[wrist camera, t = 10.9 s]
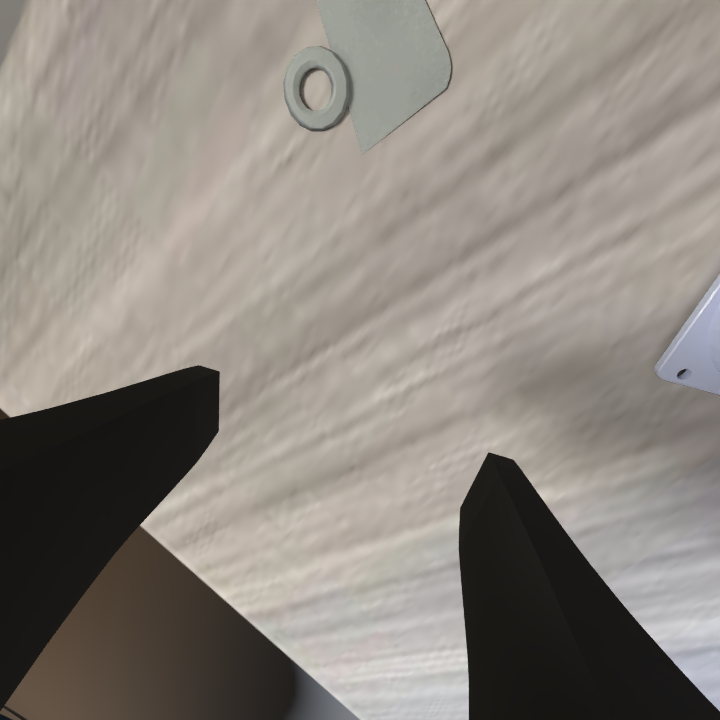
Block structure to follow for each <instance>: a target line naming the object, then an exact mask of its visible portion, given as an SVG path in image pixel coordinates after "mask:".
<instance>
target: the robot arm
mask: <svg viewBox="0 0 720 720" xmlns="http://www.w3.org/2000/svg"><path fill="white" fill-rule="evenodd" d="M683 369H686V371H685V372H684V373H683V374H682V375H679V376H678V375H677V374H678V372H679V371H681V370H683ZM654 370H655V373H656V375H657V376H658V377H660V378H661V379H663V380H665V381H669V382H673V383H677V384H680V385H684V386H688V387H692V388H695V389H699V390H703V391H706V392H710V393H714V394H718V395H720V274H719V276H718V277H717V278H716V280H715V281H714V283H713V284H712V286H711V287H710V288H709V290H708V291H707V293H706V294H705V296H704V297H703V298H702V300H701V301H700V303H699V304H698V306H697V307H696V308H695V310H694V311H693V313H692V314H691V316H690V317H689V318H688V320H687V321H686V323H685V324H684V325H683V327H682V328H681V330H680V331H679V333H678V334H677V335H676V337H675V338H674V340H673V341H672V343H671V344H670V345H669V347H668V348H667V350H666V351H665V353H664V354H663V355H662V357H661V358H660V360H659V361H658V363H657V364H656V366H655V368H654ZM219 375H220V372H219V371H216V370H212V369H209V368H206V367H202V366H199V365H198V366H194V367H189V368H186V369H182V370H179V371H175V372H172V373H169V374H165V375H162V376H159V377H156V378H152V379H149V380H146V381H143V382H140V383H136V384H133V385H130V386H127V387H123V388H120V389H117V390H114V391H110V392H107V393H103V394H100V395H96V396H93V397H89V398H85V399H82V400H78V401H74V402H71V403H67V404H64V405H60V406H56V407H53V408H49V409H45V410H41V411H37V412H33V413H28V414H24V415H20V416H16V417H11V418H6V419H2V420H0V711H1V709H2V708H3V707H4V705H5V704H6V702H7V701H8V699H9V698H10V696H11V695H12V693H13V692H14V691H15V689H16V688H17V686H18V685H19V684H20V682H21V681H22V679H23V678H24V676H25V675H26V673H27V672H28V671H29V669H30V668H31V666H32V665H33V663H34V662H35V660H36V659H37V658H38V656H39V655H40V653H41V652H42V651H43V649H44V648H45V646H46V645H47V643H48V642H49V641H50V639H51V638H52V636H53V635H54V634H55V633H56V631H57V630H58V628H59V627H60V626H61V624H62V623H63V622H64V620H65V619H66V618H67V616H68V615H69V613H70V612H71V611H72V609H73V608H74V607H75V605H76V604H77V603H78V601H79V600H80V598H81V597H82V596H83V594H84V593H85V592H86V590H87V589H88V588H89V586H90V585H91V584H92V583H93V581H94V580H95V579H96V577H97V576H98V574H99V573H100V572H101V571H102V570H103V568H104V567H105V566H106V564H107V563H108V562H109V560H110V559H111V558H112V557H113V555H114V554H115V553H116V552H117V550H118V549H119V548H120V547H121V546H122V545H123V543H124V542H125V541H126V540H127V539H128V537H129V536H130V535H131V534H132V533H133V532H134V531H135V530H136V529H137V528H138V526H139V525H140V524H141V523H142V522H143V521H144V520H145V519H146V518H147V517H148V516H149V514H150V513H151V512H152V511H153V510H154V509H155V508H156V507H157V506H158V505H159V504H160V502H161V501H162V500H163V499H164V498H165V497H166V496H167V495H168V494H169V493H170V492H171V490H172V489H173V488H174V487H175V486H176V485H177V484H178V483H179V482H180V481H181V479H182V478H183V477H184V476H185V475H186V474H187V473H188V472H189V471H190V469H191V468H192V467H193V466H194V465H195V464H196V463H197V461H198V460H199V459H200V457H201V456H202V454H203V453H204V452H205V450H206V449H207V448H208V446H209V445H210V443H211V442H212V440H213V439H214V437H215V436H216V434H217V433H218V431H219ZM459 558H460V571H461V584H462V595H463V607H464V619H465V630H466V642H467V654H468V673H469V720H720V711H719V710H718V709H717V708H716V707H715V706H714V705H713V704H712V703H711V702H710V701H709V700H708V699H707V698H706V697H705V696H704V695H703V694H702V693H701V692H700V691H699V689H698V688H697V687H696V686H695V685H694V684H693V683H692V682H691V681H690V680H689V679H688V678H687V677H686V676H685V675H684V673H683V672H682V671H681V670H680V669H679V668H678V667H677V666H676V665H675V664H674V662H673V661H672V660H671V659H670V658H669V657H668V656H667V655H666V653H665V652H664V651H663V650H662V649H661V648H660V647H659V646H658V644H657V643H656V642H655V641H654V640H653V639H652V638H651V637H650V635H649V634H648V633H647V632H646V631H645V630H644V629H643V628H642V626H641V625H640V624H639V623H638V622H637V621H636V620H635V618H634V617H633V616H632V615H631V614H630V613H629V611H628V610H627V609H626V608H625V607H624V605H623V604H622V603H621V602H620V601H619V599H618V598H617V597H616V596H615V594H614V593H613V592H612V591H611V590H610V588H609V587H608V586H607V585H606V583H605V582H604V581H603V580H602V578H601V577H600V576H599V575H598V573H597V572H596V571H595V570H594V568H593V567H592V566H591V565H590V563H589V562H588V561H587V559H586V558H585V557H584V556H583V554H582V553H581V552H580V550H579V549H578V548H577V546H576V545H575V544H574V542H573V541H572V540H571V538H570V537H569V536H568V534H567V533H566V532H565V530H564V529H563V528H562V526H561V525H560V524H559V522H558V521H557V519H556V518H555V517H554V515H553V514H552V512H551V511H550V510H549V508H548V507H547V505H546V504H545V503H544V501H543V500H542V498H541V497H540V496H539V494H538V493H537V491H536V490H535V489H534V487H533V486H532V484H531V483H530V482H529V480H528V479H527V477H526V476H525V475H524V473H523V472H522V470H521V469H520V468H519V466H518V465H517V464H516V463H515V461H514V460H513V459H509V458H506V457H503V456H499V455H496V454H493V453H489V452H488V454H487V456H486V458H485V460H484V462H483V464H482V466H481V468H480V470H479V472H478V474H477V476H476V478H475V480H474V482H473V484H472V486H471V488H470V490H469V492H468V494H467V496H466V498H465V500H464V502H463V504H462V506H461V507H460V525H459Z"/></svg>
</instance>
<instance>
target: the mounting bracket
mask: <svg viewBox="0 0 720 720" xmlns="http://www.w3.org/2000/svg"><path fill="white" fill-rule="evenodd" d="M316 4H317V7H318V10H319V14H320V17H321V20H322V23H323V27H324V30H325V33H326V37H327V40H328V43H329V47H330V50H329V49H327V48H325V47H323V46H316V47H307V48H305V49H304V50H302V51H301V52H299V53H298V54H296V55H295V56H294V58H293V59H292V61H291V62H290V64H289V66H288V67H287V71H286V75H285V79H284V95H285V101H286V104H287V106H288V109H289V111H290V114H291V116H292V117H293V118H294V119H295V120H296V121H297V123H298V124H299V125H300V126H302V127H304V128H306V129H308V130H310V131H325V130H327V129H329V128H331V127H333V126H335V125H336V124H337V123H338V121H339V120H340V119H341V118H342V116H343V115H344V114H345V111H346V108H347V106H348V109H349V112H350V116H351V119H352V122H353V125H354V129H355V132H356V135H357V139H358V142H359V145H360V148H361V152H362V155H363V154H364V153H365V152H367V151H368V150H369V149H370V148H372V147H373V146H374V145H375V144H377V143H378V142H379V141H381V140H382V139H383V138H384V137H386V136H387V135H388V134H389V133H391V132H392V131H393V130H394V129H396V128H397V127H398V126H400V125H401V124H402V123H403V122H405V121H406V120H407V119H408V118H410V117H411V116H412V115H413V114H415V113H416V112H417V111H419V110H420V109H421V108H422V107H424V106H425V105H426V104H427V103H429V102H430V101H431V100H432V99H434V98H435V97H436V96H437V95H439V94H440V93H441V92H443V91H444V90H445V89H446V87H447V84H448V82H449V79H450V73H451V64H450V57H449V53H448V50H447V48H446V46H445V44H444V41H443V39H442V37H441V35H440V33H439V30H438V28H437V26H436V24H435V21H434V19H433V17H432V15H431V12H430V10H429V8H428V6H427V4H426V1H425V0H316ZM311 69H321V70H323V71H324V72H325V73H326V74H327V75H328V76H329V79H330V82H331V87H332V94H331V97H330V100H329V102H328V104H327V105H326V106H325V107H324V108H323V109H321V110H319V111H312V110H310V109H308V108H307V107H306V106H305V105H304V104H303V102H302V99H301V97H300V84H301V81H302V78H303V77H304V75H305V74H306V73H307V72H308V71H310V70H311Z"/></svg>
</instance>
